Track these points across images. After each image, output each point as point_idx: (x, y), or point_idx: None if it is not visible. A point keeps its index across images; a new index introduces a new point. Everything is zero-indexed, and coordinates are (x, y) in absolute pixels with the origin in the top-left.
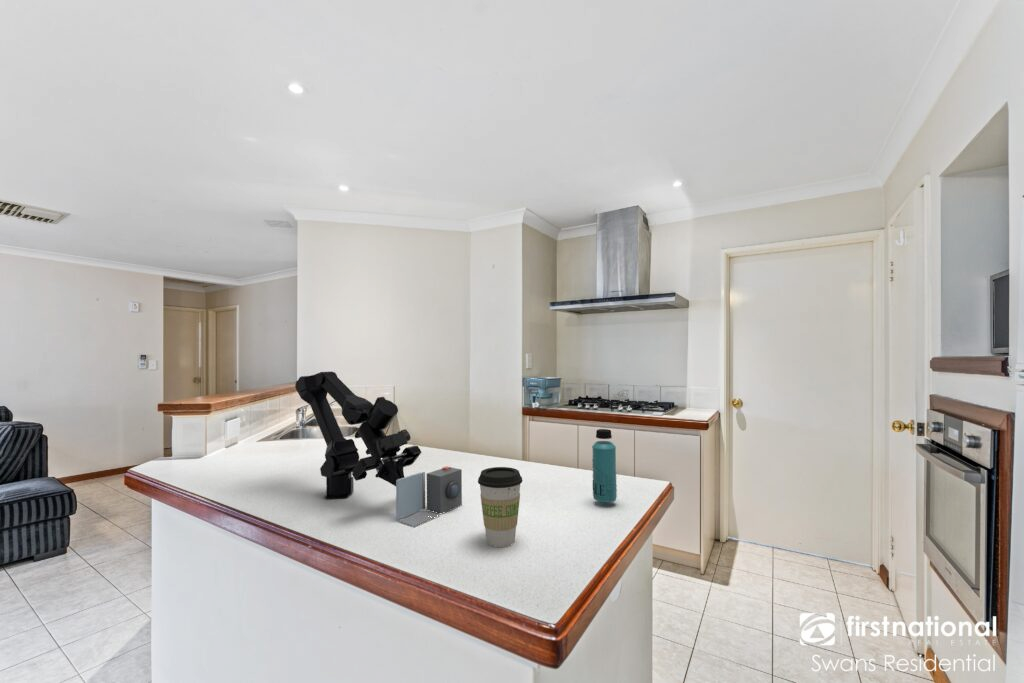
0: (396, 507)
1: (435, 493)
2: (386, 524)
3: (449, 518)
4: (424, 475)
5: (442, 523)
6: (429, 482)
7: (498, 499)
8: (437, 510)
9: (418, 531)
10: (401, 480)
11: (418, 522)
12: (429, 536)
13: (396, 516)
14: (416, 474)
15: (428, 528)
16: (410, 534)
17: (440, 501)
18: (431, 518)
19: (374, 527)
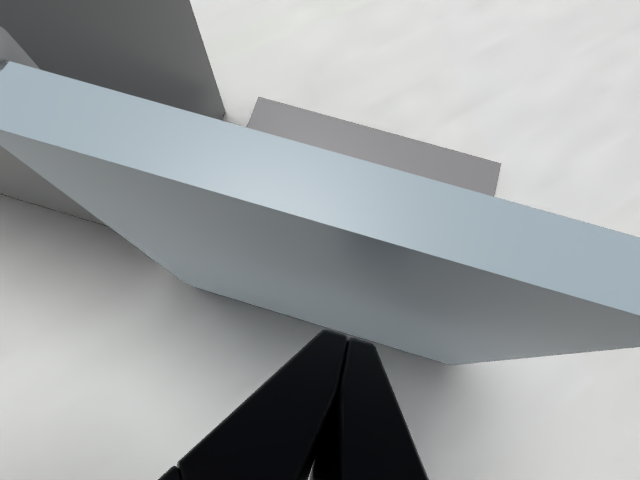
0: (482, 360)
1: (163, 60)
2: (536, 402)
3: (274, 31)
4: (31, 62)
5: (366, 37)
6: (72, 72)
7: None
8: None
9: (538, 114)
10: (616, 239)
11: (433, 170)
12: (569, 23)
13: (454, 364)
14: (162, 115)
15: (471, 79)
16: (599, 137)
17: (203, 48)
18: (336, 120)
19: (628, 464)
